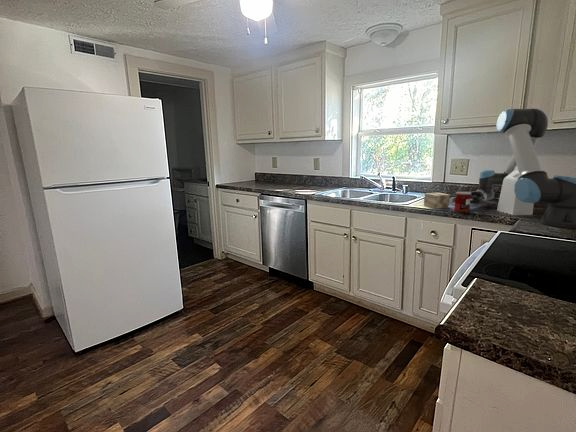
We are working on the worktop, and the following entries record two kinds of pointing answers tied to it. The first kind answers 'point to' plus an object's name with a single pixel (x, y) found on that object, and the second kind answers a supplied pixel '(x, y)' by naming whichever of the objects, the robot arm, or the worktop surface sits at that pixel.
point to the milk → (512, 197)
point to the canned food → (462, 202)
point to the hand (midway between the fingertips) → (458, 201)
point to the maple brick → (436, 200)
